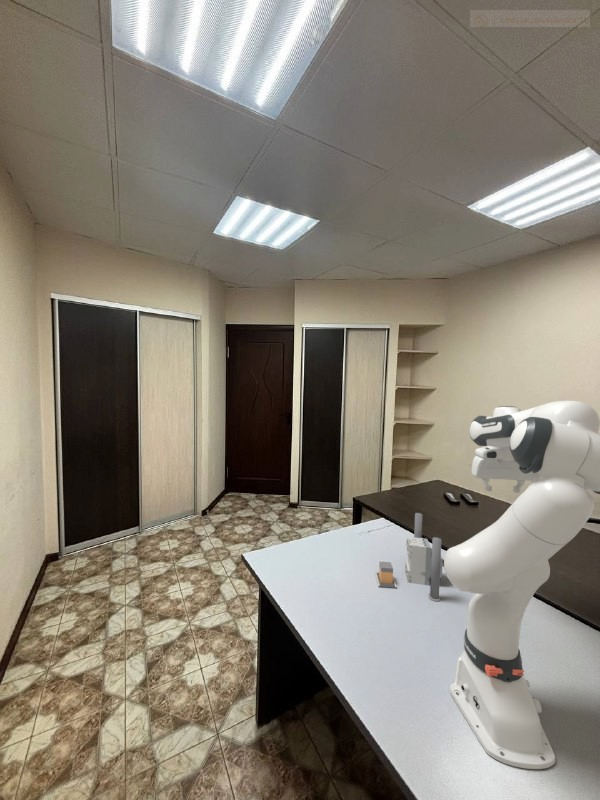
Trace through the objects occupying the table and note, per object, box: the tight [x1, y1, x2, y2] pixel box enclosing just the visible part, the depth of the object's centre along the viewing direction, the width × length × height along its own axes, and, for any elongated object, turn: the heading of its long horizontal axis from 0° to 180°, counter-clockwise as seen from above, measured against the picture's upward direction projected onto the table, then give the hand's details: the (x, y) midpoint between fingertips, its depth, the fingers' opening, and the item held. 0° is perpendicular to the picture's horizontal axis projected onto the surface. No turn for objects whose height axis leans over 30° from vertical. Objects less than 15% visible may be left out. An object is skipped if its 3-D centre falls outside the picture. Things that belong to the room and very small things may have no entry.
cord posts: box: [413, 512, 442, 603], centre depth 129 cm, size 27×4×22 cm, turn 175°
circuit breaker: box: [404, 536, 444, 586], centre depth 129 cm, size 8×14×15 cm, turn 78°
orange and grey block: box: [378, 561, 394, 584], centre depth 127 cm, size 4×4×6 cm
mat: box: [374, 572, 398, 590], centre depth 128 cm, size 9×7×1 cm
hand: (502, 491), depth 113 cm, fingers open, 8 cm apart
